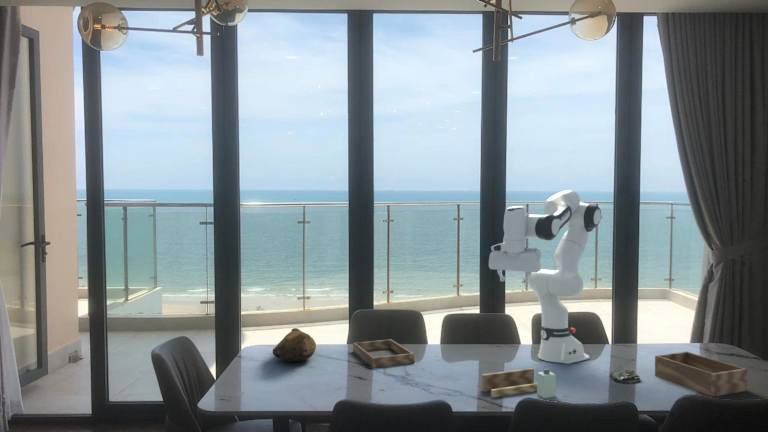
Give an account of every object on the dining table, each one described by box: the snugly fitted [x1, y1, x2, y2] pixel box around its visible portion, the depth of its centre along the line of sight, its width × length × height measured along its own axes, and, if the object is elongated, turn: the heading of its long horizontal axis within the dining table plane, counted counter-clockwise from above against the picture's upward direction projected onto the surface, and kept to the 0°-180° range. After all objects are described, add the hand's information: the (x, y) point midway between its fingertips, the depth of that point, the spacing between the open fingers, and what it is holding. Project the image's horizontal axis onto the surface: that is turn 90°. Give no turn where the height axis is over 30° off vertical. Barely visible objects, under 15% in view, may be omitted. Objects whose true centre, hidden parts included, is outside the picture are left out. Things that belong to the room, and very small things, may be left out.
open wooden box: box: [654, 351, 748, 397], centre depth 219 cm, size 17×26×8 cm, turn 21°
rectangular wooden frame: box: [352, 338, 415, 368], centre depth 256 cm, size 19×27×4 cm
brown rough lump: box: [272, 327, 317, 363], centre depth 252 cm, size 37×18×15 cm, turn 175°
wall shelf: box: [480, 367, 537, 398], centre depth 211 cm, size 22×8×6 cm, turn 111°
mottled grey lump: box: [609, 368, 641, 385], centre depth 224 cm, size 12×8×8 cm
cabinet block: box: [536, 368, 557, 399], centre depth 205 cm, size 5×4×10 cm
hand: (513, 282), depth 225 cm, fingers open, 8 cm apart
